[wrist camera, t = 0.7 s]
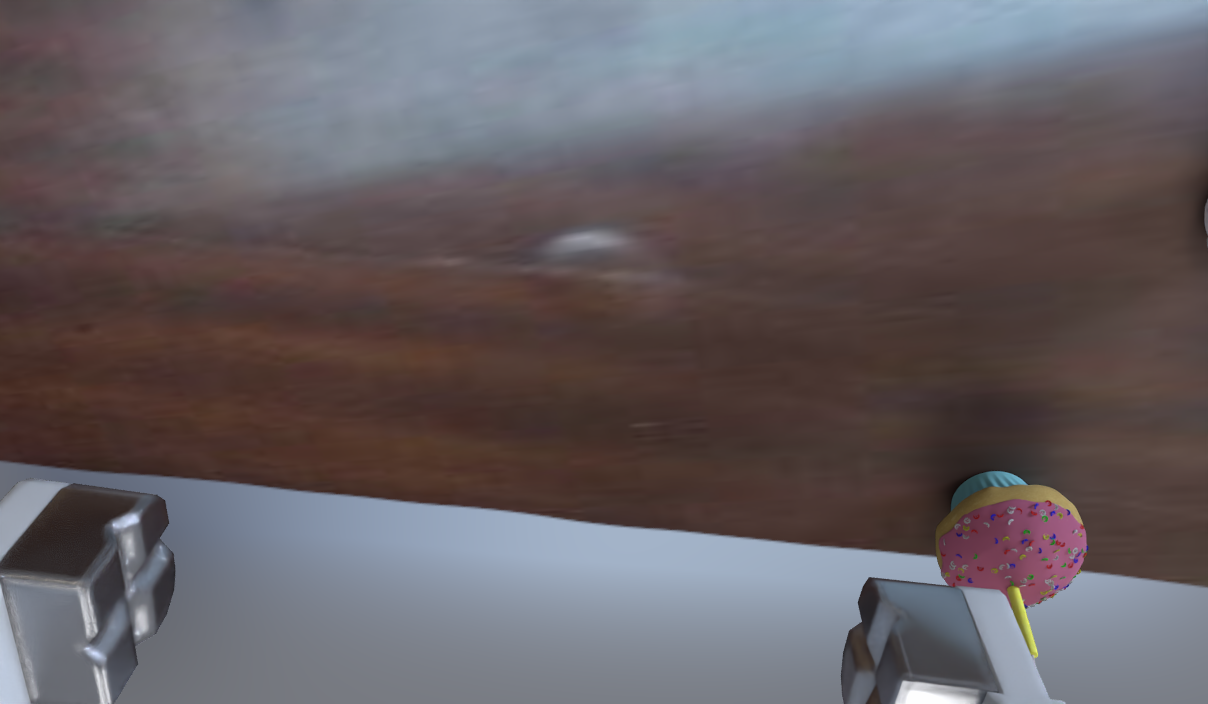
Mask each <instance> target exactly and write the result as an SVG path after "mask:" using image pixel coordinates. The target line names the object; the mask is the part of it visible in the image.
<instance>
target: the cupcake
mask: <svg viewBox="0 0 1208 704" xmlns="http://www.w3.org/2000/svg"><path fill="white" fill-rule="evenodd" d="M935 546H936V556H937V560H938V564H939V567H940V569H941V576H942V577H943V578H944V580H945V581H946V583H947V584H948V585H949V586H952V587H955V586H964V587H975V588H985V589H996V590H1000V591H1001V592H1002V593H1003V594H1004V595H1005V596H1006V597H1007V600H1008V602H1009V604H1010V607H1011V609H1012V610H1013V613H1014V616H1015V618H1016V621H1017V623H1018V625H1019V628H1020V630H1021V632H1022V635H1023V637H1024V639H1025V642H1026V644H1027V647H1028V649H1029V651H1030V654H1031V656H1032V658H1033V661H1034V663H1035V660H1034V658H1036V657H1037V656H1038V652H1037V648H1036V645H1035V642H1034V638H1033V635H1032V632H1031V628H1030V624H1029V621H1028V618H1027V614H1026V611H1025V609H1027V608H1028V606H1030V607H1033V606H1035V605H1036V604H1040V603H1041V602H1042V601H1046V600H1047V599H1048V598H1053V597H1054V595H1056V593H1058V592H1059V591H1062V590H1065V589H1066V587H1068V586H1069V584H1071V583H1072V582H1073V580H1072V579H1073V578H1075V577H1076V576H1075V575H1076V574H1079V573H1080V572H1081V570H1080V567H1081V565H1082V563H1083V560H1084V557H1085V556H1086V555H1087V552H1086V551H1087V550H1088V546H1086V532H1085V529H1084V526H1083V523H1082V521H1081V518H1080V516H1079V513H1078V511H1077V509H1076V508H1075V506H1074V505H1073V504H1072V503H1071V502H1070V501H1068V500H1067V499H1066V498H1065V497H1064V496H1063V495H1062V494H1060V493H1059V492H1058V491H1056V490H1055V489H1053V488H1050V487H1046V486H1042V485H1027V484H1026V483H1025V482H1024V481H1023V480H1022V479H1020V478H1019V477H1017V476H1015V475H1013V474H1010V473H1007V472H1001V471H991V472H984V473H981V474H978V475H975V476H973V477H971V478H969V479H968V480H966V481H965V482H964V483H962V484H961V485H960V486H959V488H958V489H957V490H956V492H955V493H954V495H953V498H952V502H951V512H950V513H949V514H948V515H947V516H946V517H945V518H944V519H943V520H942V521H941V522H940V523H939V524H938V526H937V528H936V531H935ZM1086 547H1087V549H1086ZM1078 570H1079V571H1078ZM1078 572H1079V573H1078ZM1066 585H1067V586H1066ZM1035 665H1036V664H1035Z"/></svg>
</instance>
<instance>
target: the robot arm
mask: <svg viewBox="0 0 1208 704" xmlns="http://www.w3.org/2000/svg"><path fill="white" fill-rule="evenodd" d="M168 524H169V520H168V514H167V509H166V503H165V500H164V499H162V498H161V497H159V496H158V495H153V494H147V493H140V492H132V491H125V490H118V489H110V488H104V487H96V486H89V485H82V484H75V483H74V484H67V483H62V482H54V481H47V480H39V479H33V478H30V479H26V480H24V481H21V482H19V483H17V484H16V485H15V486H14V487H13V488H12V489H11V490H10V491H9V492H8V494H6V495H5V497H4V498H3V499H2V500H1V501H0V704H114V703H115V702H116V700H117V698H118V696H119V695H120V693H121V692H122V690H123V688H124V687H125V685H126V683H127V681H128V680H129V678H130V676H131V675H132V673H133V671H134V670H135V668H136V666H137V665H138V661H137V655H136V649H135V646H136V645H138V644H140V643H141V642H143V641H145V640H146V639H148V638H150V637H151V636H153V635H155V634H156V633H157V631H158V629H159V627H160V625H161V624H162V622H163V620H164V618H165V617H166V615H167V612H168V608H169V605H170V602H171V598H172V595H173V592H174V583H175V564H174V563H175V562H174V554H173V552H172V551H171V550H170V549H169V548H168V547H167V546H166V545H165V544H164V543H163V542H162V540H161V539H160V537H161V535H162V533H163V532H164V530H165V529H166V527H167V526H168ZM858 605H859V610H860V615H861V619H862V622H861V623H859V624H858V625H857V626H855V627H854V628H852V629H851V630H850V631H849V633H848V637H847V640H846V644H845V648H844V651H843V660H842V670H841V685H842V697H843V702H844V704H1066V703H1065V702H1064V701H1059V700H1051V699H1050V698H1049V696H1048V694H1047V691H1046V689H1045V686H1044V684H1043V682H1042V679H1041V677H1040V675H1039V672H1038V670H1037V668H1036V665H1035V663H1034V661H1033V658H1032V656H1031V654H1030V651H1029V649H1028V647H1027V644H1026V642H1025V639H1024V637H1023V635H1022V632H1021V630H1020V628H1019V625H1018V623H1017V621H1016V618H1015V616H1014V614H1013V611H1012V609H1011V607H1010V604H1009V602H1008V600H1007V597H1006V596H1005V595H1004V594H1003V593H1002V592H1001V591H1000V590H996V589H985V588H975V587H964V586H955V587H952V586H946V585H936V584H927V583H917V582H909V581H899V580H890V579H881V578H871V577H869V578H868V580H867V581H866V583H865V584H864V586H863V588H862V591H861V594H860V597H859V601H858Z"/></svg>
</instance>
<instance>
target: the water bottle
mask: <svg viewBox="0 0 1208 704" xmlns="http://www.w3.org/2000/svg"><path fill="white" fill-rule="evenodd" d="M1204 224H1205V229H1206V232H1207V234H1208V199H1207V202H1206V205H1205V212H1204ZM1207 246H1208V238H1207Z"/></svg>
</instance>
